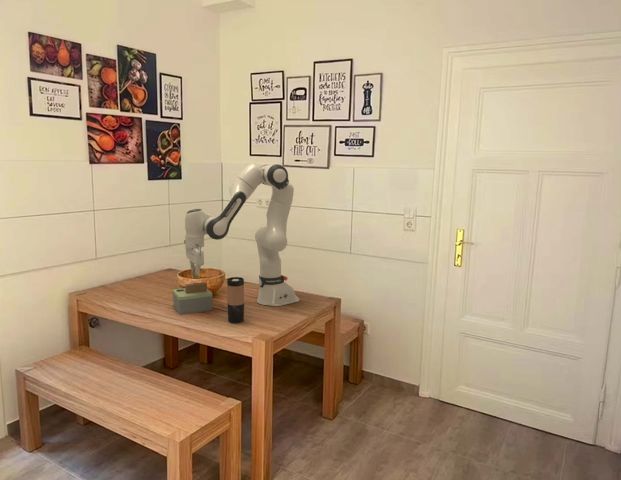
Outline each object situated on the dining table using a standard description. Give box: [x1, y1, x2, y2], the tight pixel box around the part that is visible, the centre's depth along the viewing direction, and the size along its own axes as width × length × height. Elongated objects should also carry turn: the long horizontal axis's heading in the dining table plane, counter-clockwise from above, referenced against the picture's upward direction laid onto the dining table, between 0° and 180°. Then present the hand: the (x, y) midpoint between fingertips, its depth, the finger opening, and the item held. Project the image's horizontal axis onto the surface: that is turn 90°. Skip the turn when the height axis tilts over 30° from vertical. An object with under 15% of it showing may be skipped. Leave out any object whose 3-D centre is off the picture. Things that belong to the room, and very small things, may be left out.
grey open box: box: [172, 292, 214, 315], centre depth 231 cm, size 16×14×8 cm
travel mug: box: [226, 276, 245, 324], centre depth 216 cm, size 8×8×20 cm
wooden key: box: [190, 265, 200, 280], centre depth 249 cm, size 3×3×18 cm
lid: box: [172, 282, 213, 300], centre depth 230 cm, size 16×14×6 cm
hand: (195, 270), depth 228 cm, fingers open, 8 cm apart
